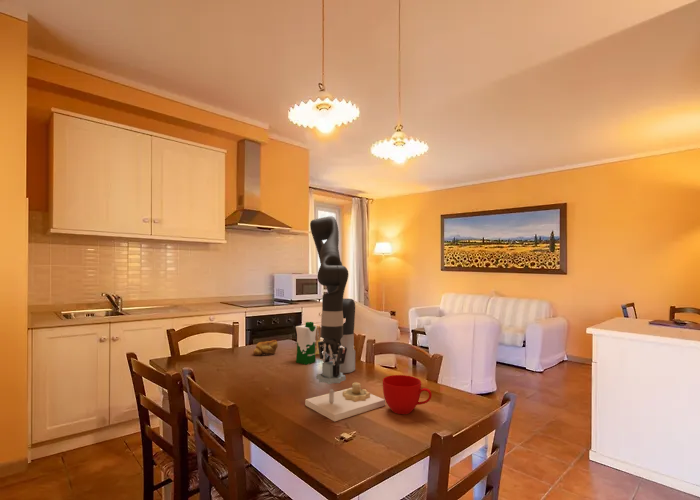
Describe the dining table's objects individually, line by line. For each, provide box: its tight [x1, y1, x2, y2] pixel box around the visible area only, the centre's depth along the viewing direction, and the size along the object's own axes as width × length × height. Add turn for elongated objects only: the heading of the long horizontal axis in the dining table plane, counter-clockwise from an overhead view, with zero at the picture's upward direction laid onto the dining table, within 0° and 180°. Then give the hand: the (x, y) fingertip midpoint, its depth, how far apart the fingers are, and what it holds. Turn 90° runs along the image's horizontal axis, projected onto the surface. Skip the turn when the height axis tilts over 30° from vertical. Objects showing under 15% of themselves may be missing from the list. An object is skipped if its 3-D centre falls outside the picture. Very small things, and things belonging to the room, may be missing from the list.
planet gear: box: [316, 360, 347, 385], centre depth 127 cm, size 10×10×6 cm
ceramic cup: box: [382, 374, 433, 415], centre depth 125 cm, size 13×17×10 cm
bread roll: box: [253, 339, 279, 357], centre depth 203 cm, size 13×10×8 cm
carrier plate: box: [304, 381, 386, 422], centre depth 130 cm, size 22×17×7 cm
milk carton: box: [295, 321, 317, 365], centre depth 187 cm, size 9×9×20 cm
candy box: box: [314, 324, 321, 355], centre depth 205 cm, size 9×4×15 cm, turn 110°
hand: (331, 374), depth 127 cm, fingers closed on planet gear, 4 cm apart
